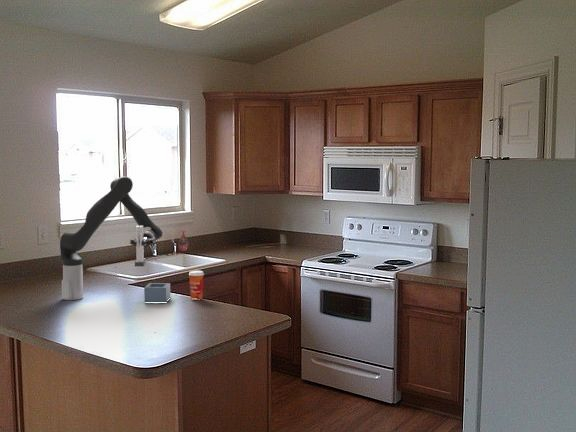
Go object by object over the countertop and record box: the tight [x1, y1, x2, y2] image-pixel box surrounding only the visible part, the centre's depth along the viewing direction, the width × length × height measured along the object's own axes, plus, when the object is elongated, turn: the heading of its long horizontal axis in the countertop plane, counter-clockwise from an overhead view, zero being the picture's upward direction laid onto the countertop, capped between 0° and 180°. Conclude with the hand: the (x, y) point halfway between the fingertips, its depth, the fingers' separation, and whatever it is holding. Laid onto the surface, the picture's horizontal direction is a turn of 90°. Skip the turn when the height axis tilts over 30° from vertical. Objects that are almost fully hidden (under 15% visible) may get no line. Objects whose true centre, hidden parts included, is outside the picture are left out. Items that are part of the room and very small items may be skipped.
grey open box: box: [143, 282, 171, 303], centre depth 310 cm, size 11×11×8 cm
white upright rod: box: [134, 225, 146, 267], centre depth 315 cm, size 4×4×20 cm
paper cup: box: [188, 270, 205, 300], centre depth 315 cm, size 8×8×14 cm
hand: (138, 243), depth 312 cm, fingers closed on white upright rod, 3 cm apart
